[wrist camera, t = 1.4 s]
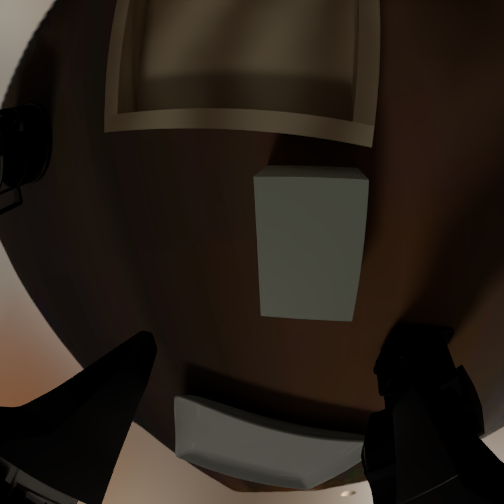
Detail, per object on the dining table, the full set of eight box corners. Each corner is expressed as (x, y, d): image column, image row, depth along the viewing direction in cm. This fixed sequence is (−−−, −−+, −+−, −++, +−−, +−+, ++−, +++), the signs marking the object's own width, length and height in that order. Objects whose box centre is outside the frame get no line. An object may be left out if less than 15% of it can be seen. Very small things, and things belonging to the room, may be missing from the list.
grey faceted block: (356, 167, 17) (368, 179, 13) (347, 284, 21) (351, 321, 17) (267, 165, 18) (253, 176, 14) (272, 280, 22) (260, 315, 18)
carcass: (369, -21, 10) (378, -50, 6) (362, 143, 16) (376, 149, 12) (145, -12, 13) (113, -28, 9) (130, 128, 19) (93, 134, 15)
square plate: (181, 443, 44) (174, 458, 40) (184, 372, 31) (172, 396, 27) (309, 477, 41) (307, 492, 38) (385, 422, 28) (387, 446, 25)
